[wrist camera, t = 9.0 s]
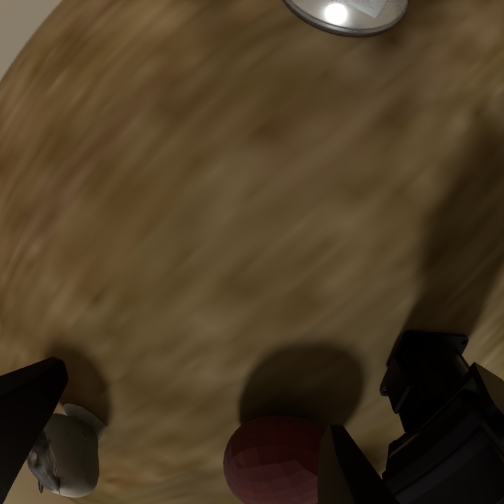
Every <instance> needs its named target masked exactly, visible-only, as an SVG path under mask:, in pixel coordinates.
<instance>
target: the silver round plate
mask: <svg viewBox="0 0 504 504" xmlns="http://www.w3.org/2000/svg"><path fill="white" fill-rule="evenodd" d="M283 2H284V3H285V5H286V6H287V7H288V8H289V9H290V10H291V12H293V13H294V14H295V15H296V16H297V17H298V18H300V19H301V20H303V21H304V22H306V23H307V24H309V25H311V26H313V27H315V28H317V29H319V30H322V31H325V32H328V33H331V34H335V35H339V36H345V37H356V38H357V37H370V36H375V35H378V34H381V33H383V32H386V31H388V30H389V29H391V28H392V27H393V26H394V25H396V24H397V22H398V21H399V20H400V19H401V18H402V16H403V15H404V13H405V11H406V9H407V6H408V0H389V1H388V3H387V5H386V6H385V8H384V9H383V11H382V12H381V14H380V15H379V17H378V18H374V17H372V16H370V15H368V14H367V13H365V12H363V11H361V10H359V9H357V8H355V7H354V6H352V5H350V4H348V3H346V2H344V1H342V0H283Z"/></svg>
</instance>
